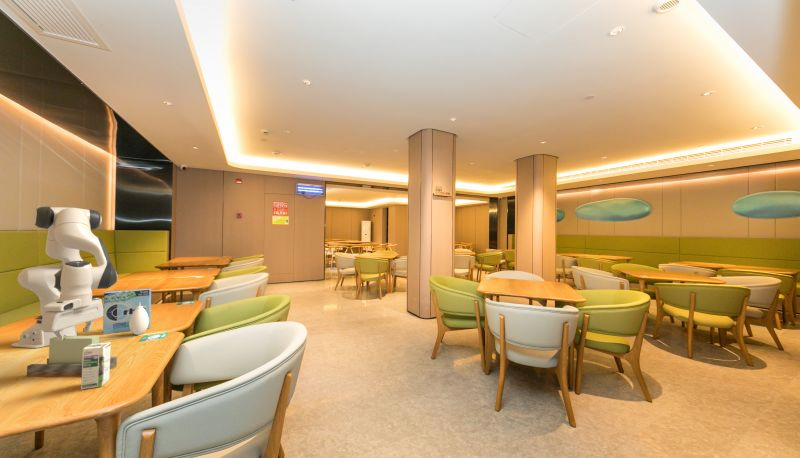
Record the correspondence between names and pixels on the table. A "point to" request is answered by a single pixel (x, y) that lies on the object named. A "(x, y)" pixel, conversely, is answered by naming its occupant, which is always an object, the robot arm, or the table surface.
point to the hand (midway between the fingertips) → (74, 335)
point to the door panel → (69, 349)
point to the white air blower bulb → (139, 321)
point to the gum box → (123, 308)
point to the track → (60, 369)
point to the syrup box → (95, 365)
